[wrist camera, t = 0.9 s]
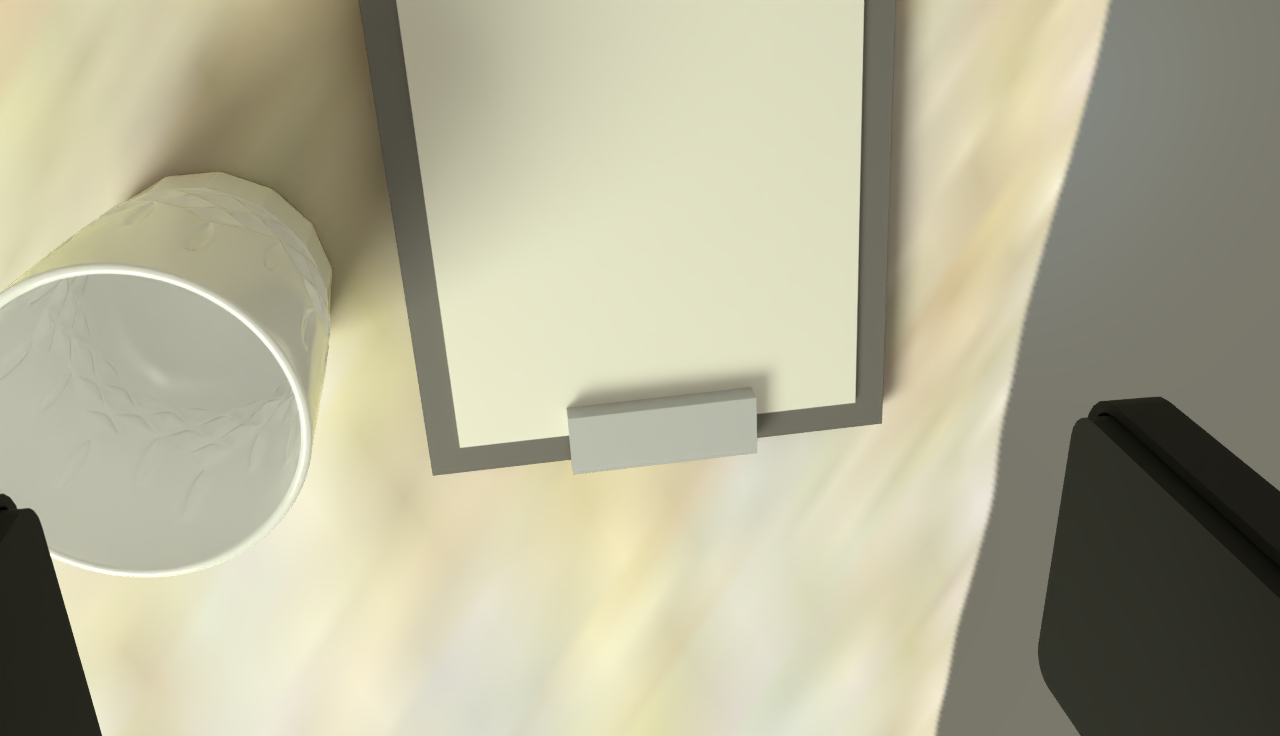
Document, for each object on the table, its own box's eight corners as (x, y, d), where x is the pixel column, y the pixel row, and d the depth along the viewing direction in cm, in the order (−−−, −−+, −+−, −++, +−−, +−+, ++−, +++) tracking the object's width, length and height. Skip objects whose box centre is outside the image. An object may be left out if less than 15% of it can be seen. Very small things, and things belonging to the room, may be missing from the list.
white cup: (245, 98, 33) (157, 195, 24) (404, 316, 36) (381, 473, 27) (20, 239, 33) (-147, 384, 24) (196, 439, 37) (106, 632, 28)
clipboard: (316, -302, 29) (305, -312, 27) (893, -333, 30) (920, -344, 29) (433, 460, 38) (432, 491, 36) (872, 410, 40) (891, 437, 38)
